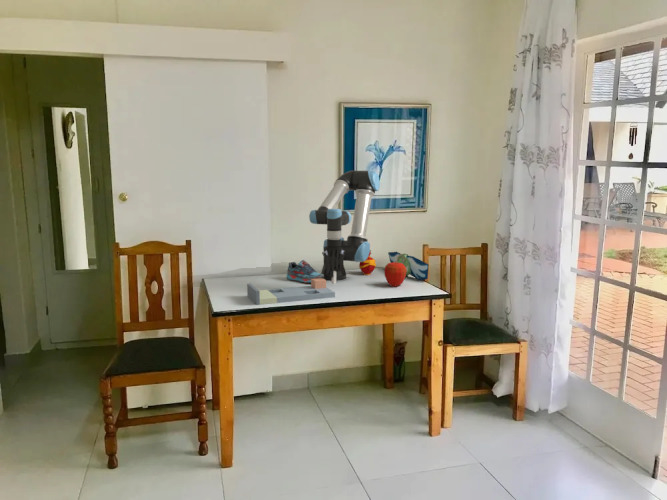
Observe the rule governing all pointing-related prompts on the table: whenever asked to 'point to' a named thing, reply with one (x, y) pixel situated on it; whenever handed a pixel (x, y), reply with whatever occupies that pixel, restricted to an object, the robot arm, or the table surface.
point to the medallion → (411, 265)
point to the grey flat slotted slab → (287, 294)
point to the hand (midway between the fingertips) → (334, 283)
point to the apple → (395, 273)
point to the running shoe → (302, 272)
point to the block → (318, 283)
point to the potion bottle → (367, 265)
